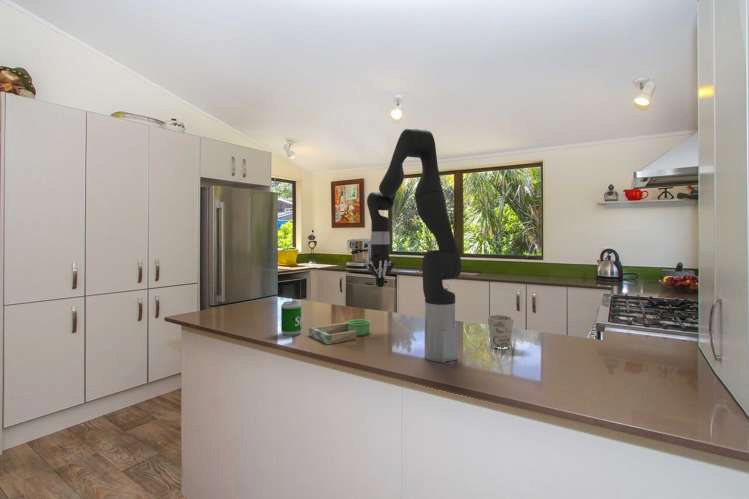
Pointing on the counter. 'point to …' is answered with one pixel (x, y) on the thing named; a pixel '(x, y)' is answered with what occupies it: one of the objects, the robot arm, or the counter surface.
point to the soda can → (291, 318)
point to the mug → (500, 330)
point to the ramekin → (359, 326)
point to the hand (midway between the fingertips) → (380, 286)
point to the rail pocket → (325, 332)
